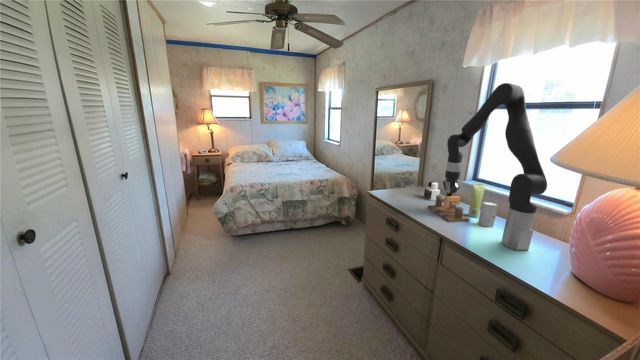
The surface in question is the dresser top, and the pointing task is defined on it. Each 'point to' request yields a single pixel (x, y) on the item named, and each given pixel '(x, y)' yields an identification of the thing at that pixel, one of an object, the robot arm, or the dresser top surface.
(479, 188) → the tube
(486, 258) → the dresser top surface
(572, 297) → the dresser top surface
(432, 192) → the medicine bottle
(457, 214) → the pipe stand
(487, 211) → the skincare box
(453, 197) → the collar
